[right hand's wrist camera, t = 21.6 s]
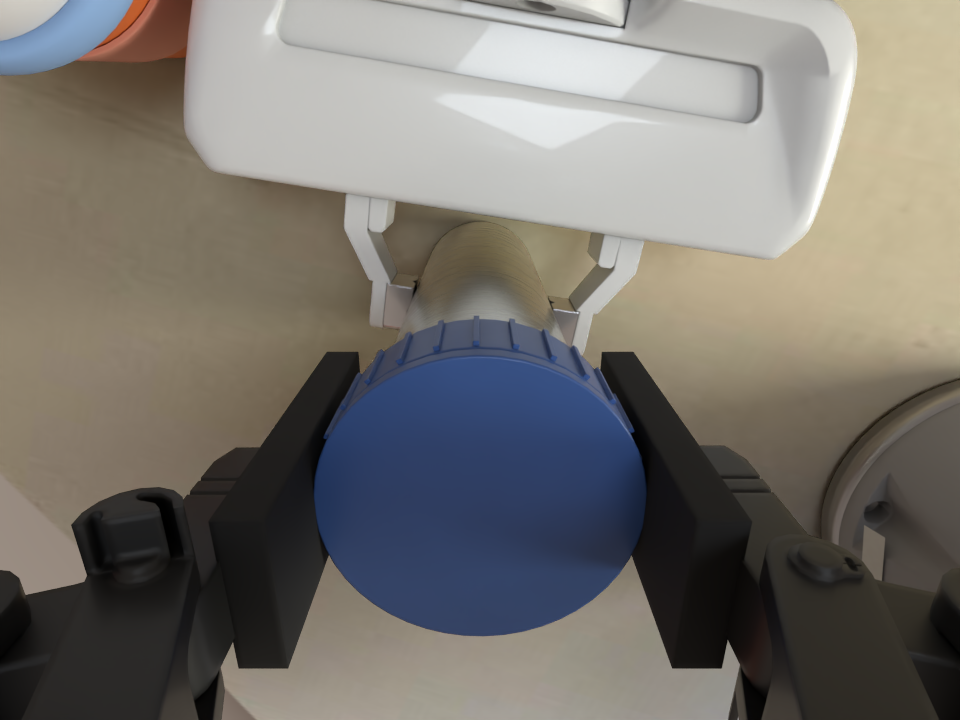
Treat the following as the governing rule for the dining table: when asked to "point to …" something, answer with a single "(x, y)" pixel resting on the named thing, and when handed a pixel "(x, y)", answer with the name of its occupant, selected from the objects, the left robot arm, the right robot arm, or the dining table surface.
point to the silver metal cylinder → (480, 282)
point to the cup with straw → (89, 32)
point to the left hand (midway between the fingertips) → (477, 337)
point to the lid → (480, 480)
